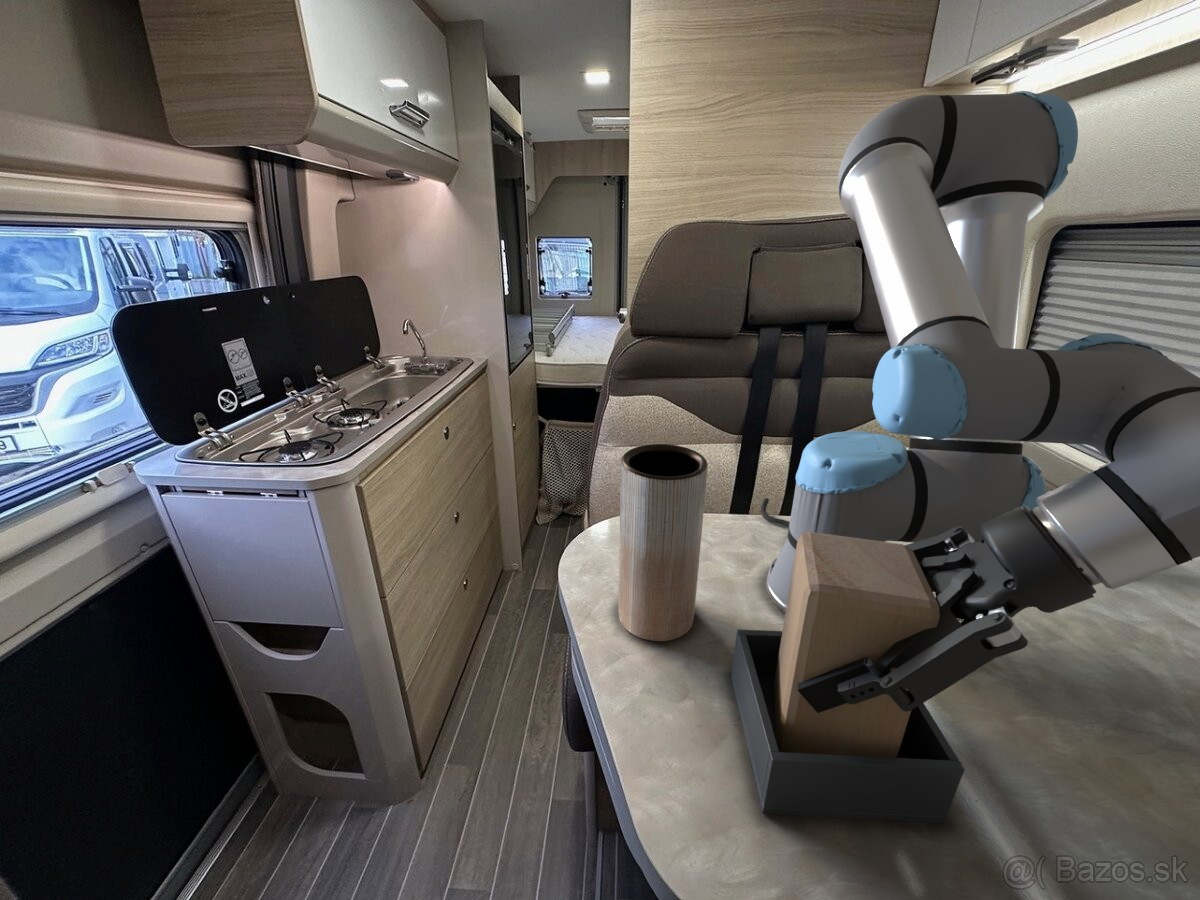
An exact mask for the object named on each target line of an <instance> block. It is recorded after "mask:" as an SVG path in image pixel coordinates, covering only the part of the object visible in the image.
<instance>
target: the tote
mask: <svg viewBox="0 0 1200 900" xmlns="http://www.w3.org/2000/svg"><path fill="white" fill-rule="evenodd" d="M782 631H783V630H761V629H760V630H759V629H736V634H735V643H734V651H733V656H732V657H733V659H732V666H731V673H730V677H731V682H732V687H733V691H734V695H735V700H736V703H737V709H738V713H739V717H740V722H741V726H742V730H743V734H744V738H745V743H746V748H747V753H748V756H749V761H750V765H751V769H752V775H753V778H754V782H755V787H756V791H757V796H758V800H759V805H760V809H761V813H762V814H764V815H780V816H781V815H783V816H801V817H803V816H804V817H819V818H820V817H823V818H839V819H840V818H841V819H859V820H879V821H896V822H897V821H898V822H915V823H934V824H935V823H937V824H944V823H945V822H946V820H947V816H948V814H949V811H950V809H951V807H952V803H953V802H954V799H955V796H956V793H957V791H958V789H959V786H960V783H961V781H962V778H963V776H964V773H965V766H964V765H963V764H962V762H961V761H960V760H959V758H958V756H957V755H956V753H955V751H954V749H953V748H952V746H951V745H950V743H949V742H948V740H947V738H946V737H945V735H944V734H943V732H942V729H940V726H938V724H937V723H936V721H935V719H934V718H933V716H932V714H931V713H930V711H929V709H928V708H927V706H926V704H925V702H924V703H922V704H921V705H919V706H917V707H916V708H914V709H913V710H911V713H910V716H909V719H908V722H907V726H906V729H905V732H904V736H903V739H902V742H901V745H900V749H899V752H898V755H897V758H889V757H868V756H847V755H826V754H804V753H783V752H779V749H778V745H777V742H776V732H775V701H774V680H775V674H776V668H777V662H778V655H779V649H780V643H781V637H782Z"/></svg>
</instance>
